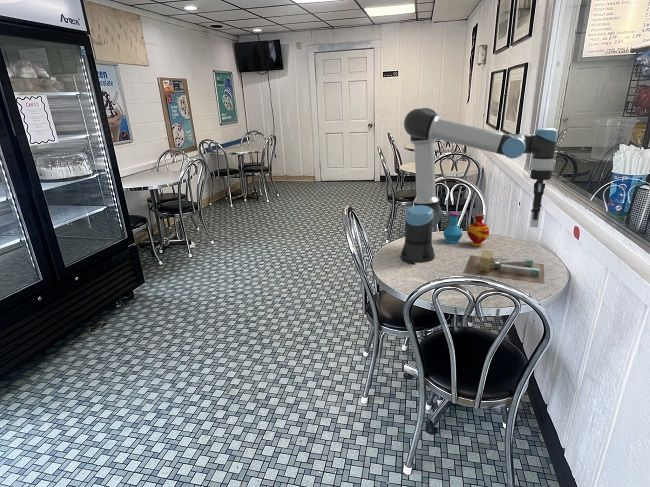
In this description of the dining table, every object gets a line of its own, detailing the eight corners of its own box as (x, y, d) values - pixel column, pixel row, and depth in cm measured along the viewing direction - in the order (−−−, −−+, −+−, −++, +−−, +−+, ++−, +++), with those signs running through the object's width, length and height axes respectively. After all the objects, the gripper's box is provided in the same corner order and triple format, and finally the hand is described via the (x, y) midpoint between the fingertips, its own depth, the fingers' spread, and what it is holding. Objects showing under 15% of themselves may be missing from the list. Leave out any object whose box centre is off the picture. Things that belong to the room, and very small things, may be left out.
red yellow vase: (461, 242, 196) (463, 213, 191) (479, 240, 199) (481, 211, 194) (475, 249, 187) (477, 218, 182) (493, 246, 189) (496, 216, 185)
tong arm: (493, 270, 159) (494, 263, 158) (489, 266, 163) (489, 260, 162) (534, 267, 160) (535, 261, 159) (529, 264, 164) (530, 257, 163)
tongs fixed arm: (476, 268, 162) (477, 262, 161) (477, 265, 165) (478, 259, 164) (538, 276, 152) (539, 270, 151) (538, 273, 155) (539, 267, 154)
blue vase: (462, 244, 194) (465, 215, 189) (443, 243, 196) (445, 214, 191) (460, 238, 202) (462, 210, 197) (442, 238, 204) (443, 210, 199)
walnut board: (462, 275, 159) (463, 272, 159) (470, 257, 177) (470, 255, 176) (544, 286, 146) (544, 283, 146) (543, 266, 164) (543, 264, 163)
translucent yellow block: (478, 270, 160) (480, 257, 158) (481, 262, 167) (482, 249, 165) (489, 272, 158) (490, 258, 156) (491, 264, 165) (492, 250, 164)
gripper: (553, 173, 146) (544, 232, 153) (551, 165, 163) (544, 219, 170) (530, 172, 149) (523, 230, 157) (531, 165, 166) (524, 217, 173)
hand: (534, 224), depth 163 cm, fingers open, 7 cm apart
